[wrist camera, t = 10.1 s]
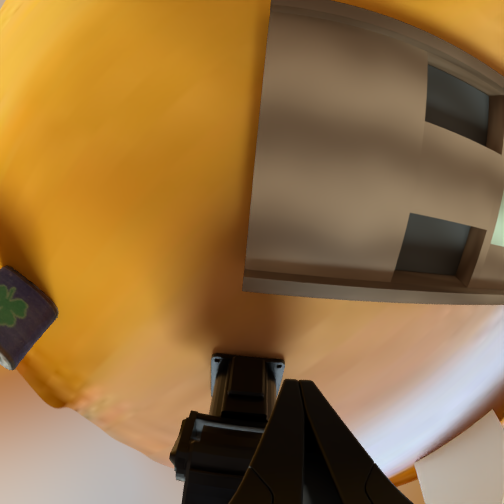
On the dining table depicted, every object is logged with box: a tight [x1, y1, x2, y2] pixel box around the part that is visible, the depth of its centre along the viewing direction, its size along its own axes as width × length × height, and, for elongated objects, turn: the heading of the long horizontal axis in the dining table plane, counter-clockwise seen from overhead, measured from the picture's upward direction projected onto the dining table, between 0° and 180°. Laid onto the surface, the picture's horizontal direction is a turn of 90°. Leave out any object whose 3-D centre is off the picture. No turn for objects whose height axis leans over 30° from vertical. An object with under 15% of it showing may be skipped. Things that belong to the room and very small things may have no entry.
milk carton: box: [414, 409, 504, 504], centre depth 24 cm, size 19×15×25 cm
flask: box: [0, 266, 58, 370], centre depth 18 cm, size 9×3×11 cm, turn 57°
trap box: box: [242, 0, 504, 305], centre depth 15 cm, size 18×28×4 cm, turn 85°
